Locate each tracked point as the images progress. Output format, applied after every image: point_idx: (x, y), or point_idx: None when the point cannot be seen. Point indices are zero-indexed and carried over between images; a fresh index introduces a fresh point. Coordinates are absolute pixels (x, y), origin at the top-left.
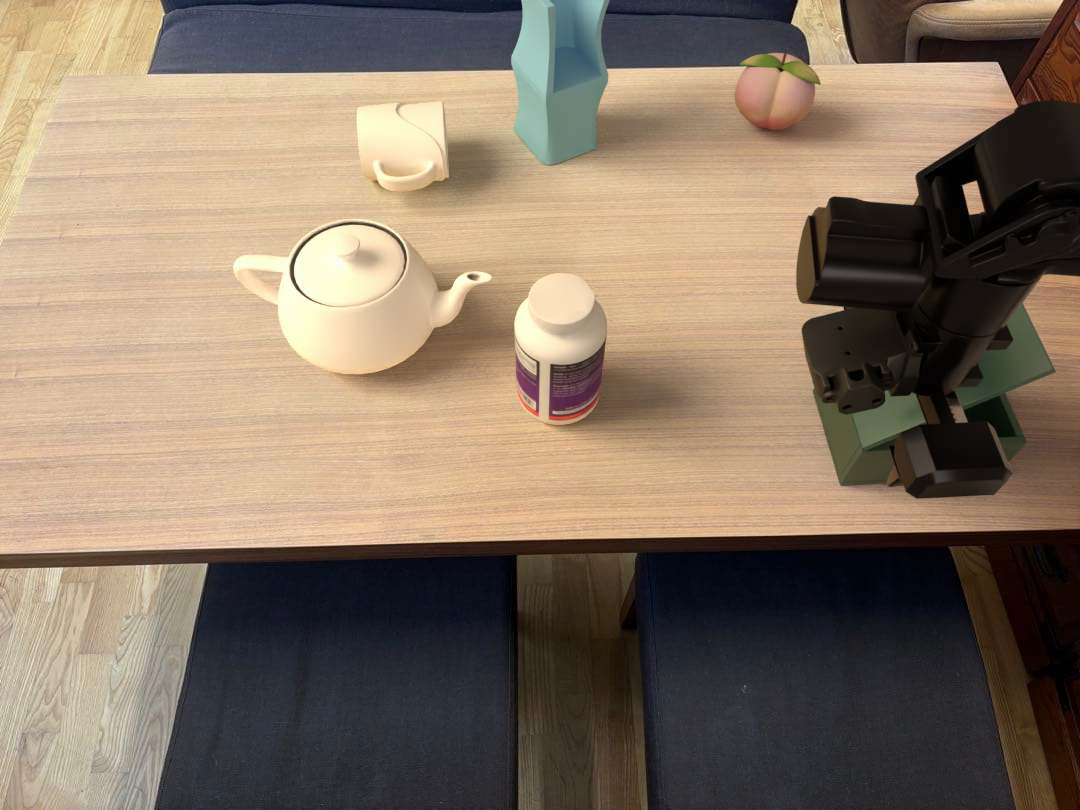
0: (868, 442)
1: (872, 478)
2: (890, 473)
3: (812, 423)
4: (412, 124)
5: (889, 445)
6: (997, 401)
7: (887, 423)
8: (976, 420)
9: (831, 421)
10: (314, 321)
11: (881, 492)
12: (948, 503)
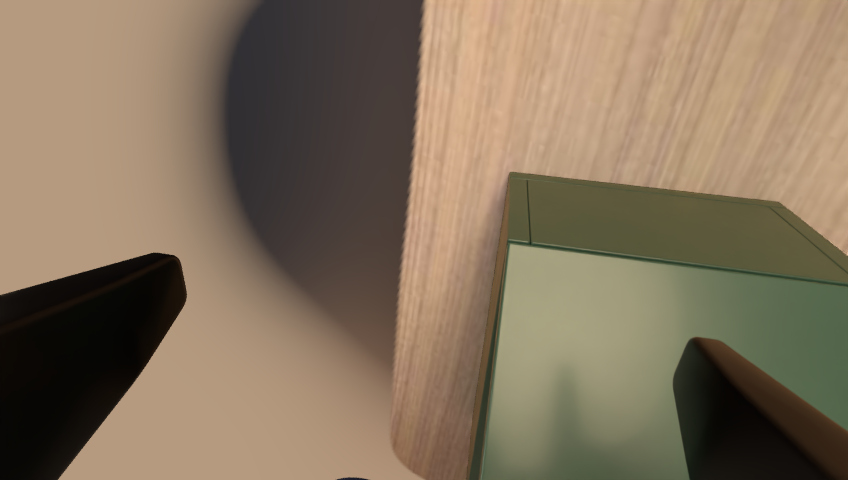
0: (515, 264)
1: (500, 239)
2: (85, 289)
3: (687, 169)
4: None
5: None
6: None
7: (542, 340)
8: None
9: (663, 208)
10: None
11: (479, 244)
12: (438, 337)
